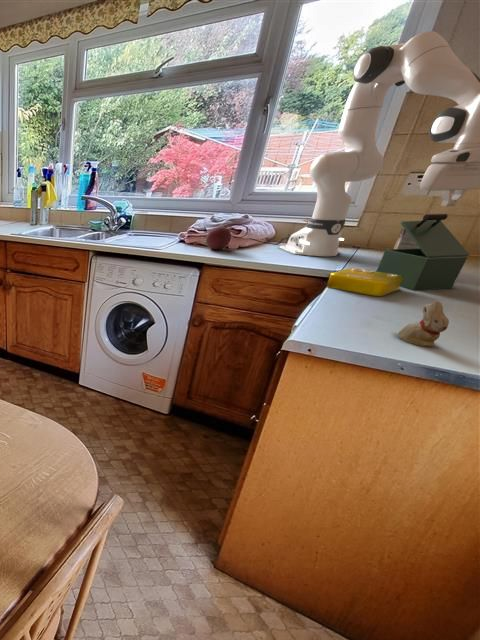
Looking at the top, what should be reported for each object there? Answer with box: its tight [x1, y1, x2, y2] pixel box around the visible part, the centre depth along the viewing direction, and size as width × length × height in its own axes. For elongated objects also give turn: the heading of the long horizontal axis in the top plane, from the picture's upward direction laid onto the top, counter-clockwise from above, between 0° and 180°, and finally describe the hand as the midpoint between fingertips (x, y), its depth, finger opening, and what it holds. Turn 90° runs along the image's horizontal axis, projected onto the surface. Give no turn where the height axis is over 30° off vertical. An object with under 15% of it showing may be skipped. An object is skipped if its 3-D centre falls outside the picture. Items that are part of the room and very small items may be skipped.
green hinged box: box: [376, 248, 468, 291], centre depth 141 cm, size 15×13×10 cm
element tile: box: [326, 267, 403, 297], centre depth 139 cm, size 15×15×5 cm
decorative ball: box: [205, 226, 232, 251], centre depth 197 cm, size 10×10×10 cm
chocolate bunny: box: [397, 300, 450, 348], centre depth 100 cm, size 6×8×10 cm
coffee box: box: [393, 226, 419, 249], centre depth 156 cm, size 9×6×16 cm
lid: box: [400, 213, 470, 258], centre depth 134 cm, size 16×13×5 cm
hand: (447, 206), depth 132 cm, fingers closed
